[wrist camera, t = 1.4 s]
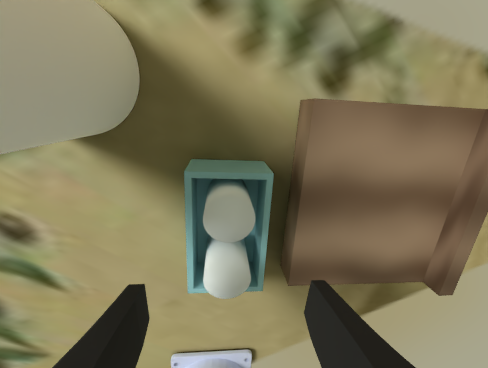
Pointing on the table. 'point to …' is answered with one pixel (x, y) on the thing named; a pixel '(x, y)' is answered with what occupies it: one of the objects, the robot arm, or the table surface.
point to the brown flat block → (385, 193)
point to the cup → (62, 72)
